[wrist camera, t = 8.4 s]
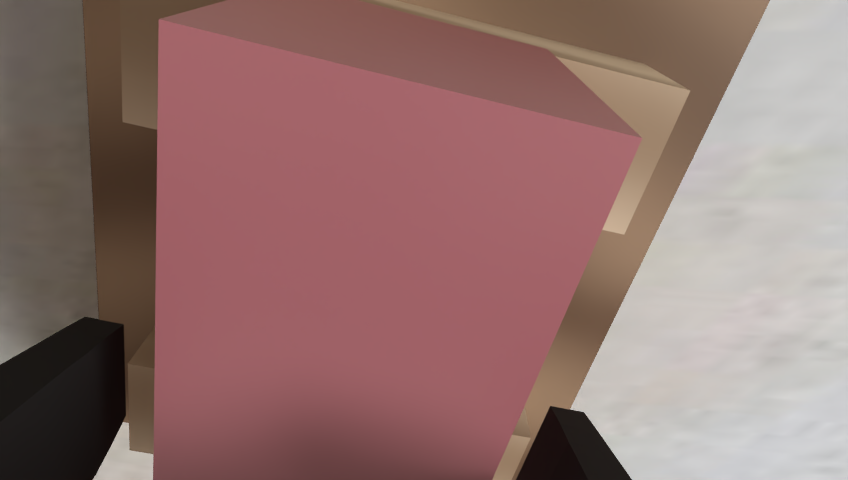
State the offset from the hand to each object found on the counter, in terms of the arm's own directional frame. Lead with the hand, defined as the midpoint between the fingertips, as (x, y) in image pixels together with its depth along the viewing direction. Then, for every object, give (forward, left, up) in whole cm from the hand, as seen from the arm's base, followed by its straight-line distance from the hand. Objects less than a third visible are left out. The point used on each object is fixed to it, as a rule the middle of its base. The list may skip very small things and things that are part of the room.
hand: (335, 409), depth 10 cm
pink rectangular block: (0, 0, -3) cm, 3 cm away
